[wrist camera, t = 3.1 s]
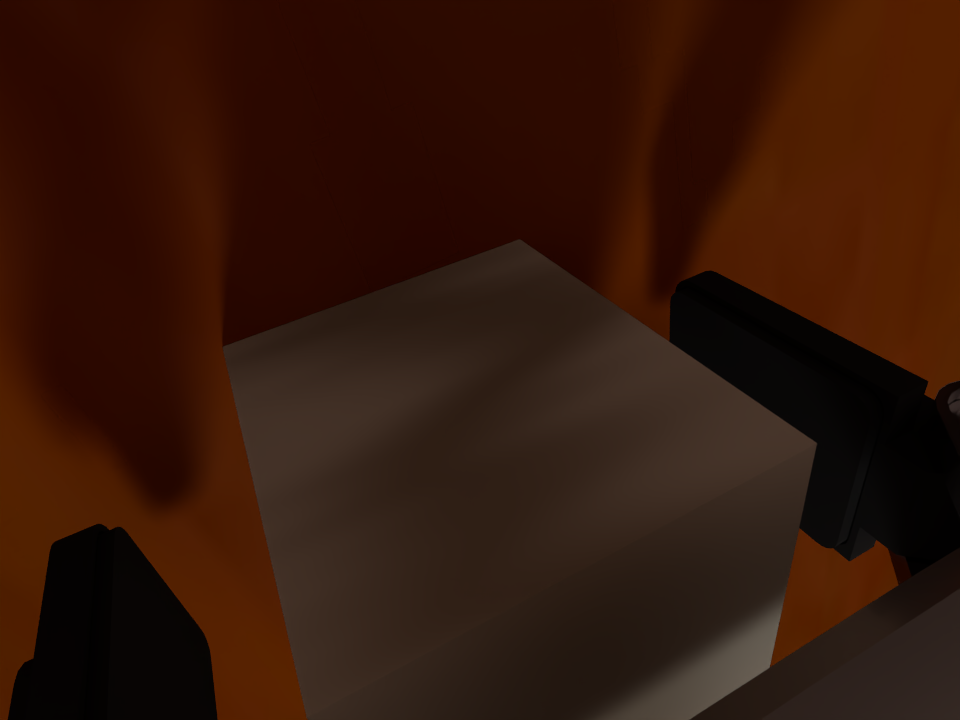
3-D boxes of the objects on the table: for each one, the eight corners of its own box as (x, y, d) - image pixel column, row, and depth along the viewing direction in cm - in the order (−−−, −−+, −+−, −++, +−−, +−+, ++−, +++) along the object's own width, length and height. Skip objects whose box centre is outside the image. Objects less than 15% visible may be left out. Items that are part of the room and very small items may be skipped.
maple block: (517, 238, 11) (817, 443, 6) (547, 450, 13) (762, 699, 9) (222, 345, 9) (307, 717, 5) (324, 554, 12) (439, 912, 7)
